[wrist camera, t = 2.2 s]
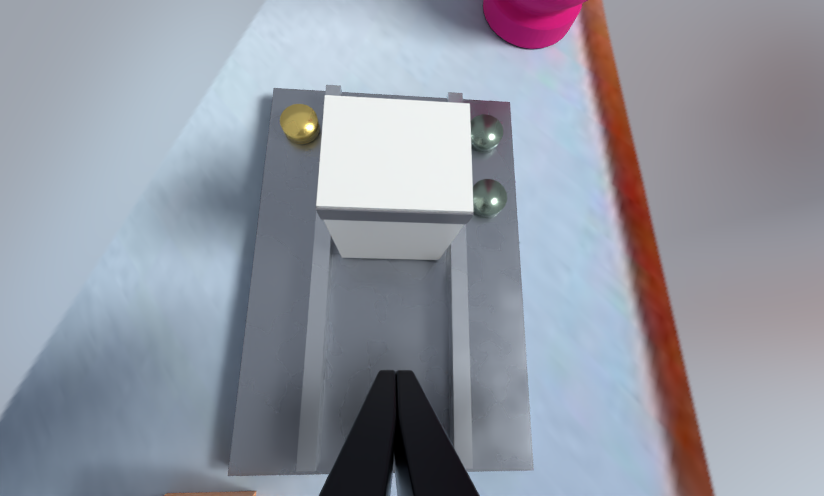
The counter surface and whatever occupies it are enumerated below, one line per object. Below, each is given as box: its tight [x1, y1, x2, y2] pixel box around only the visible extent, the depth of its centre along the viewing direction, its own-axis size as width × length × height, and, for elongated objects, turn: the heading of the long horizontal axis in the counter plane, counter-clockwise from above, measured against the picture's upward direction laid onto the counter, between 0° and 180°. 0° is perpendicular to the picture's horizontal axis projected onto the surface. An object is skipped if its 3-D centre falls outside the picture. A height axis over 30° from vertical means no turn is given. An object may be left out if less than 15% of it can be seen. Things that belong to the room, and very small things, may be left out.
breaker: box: [316, 95, 474, 260], centre depth 16 cm, size 4×5×8 cm
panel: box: [228, 85, 534, 476], centre depth 19 cm, size 20×14×2 cm
